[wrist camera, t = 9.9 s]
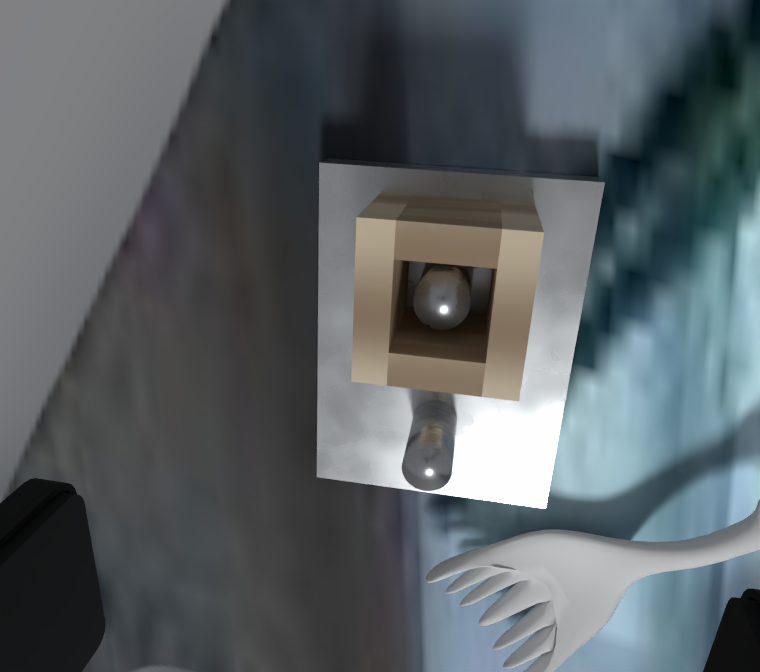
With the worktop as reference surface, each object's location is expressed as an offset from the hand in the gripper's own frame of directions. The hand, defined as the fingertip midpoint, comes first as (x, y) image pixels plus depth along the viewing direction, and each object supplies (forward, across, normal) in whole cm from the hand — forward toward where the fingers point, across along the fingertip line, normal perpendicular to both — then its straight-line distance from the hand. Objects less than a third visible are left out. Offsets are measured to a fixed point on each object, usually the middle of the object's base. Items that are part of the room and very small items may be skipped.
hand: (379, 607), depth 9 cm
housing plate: (+20, 0, +4) cm, 20 cm away
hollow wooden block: (+18, 0, 0) cm, 18 cm away
